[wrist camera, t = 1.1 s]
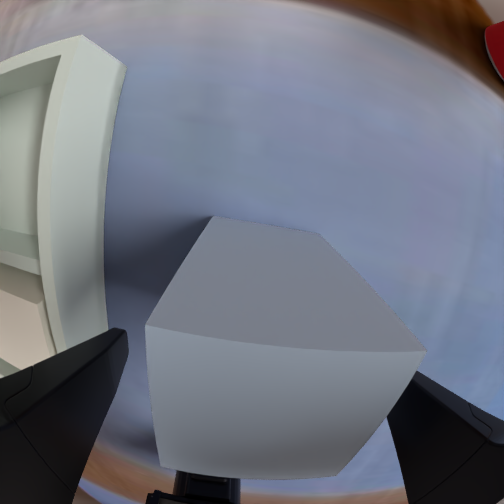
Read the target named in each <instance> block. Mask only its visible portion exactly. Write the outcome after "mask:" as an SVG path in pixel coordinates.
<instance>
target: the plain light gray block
mask: <svg viewBox="0 0 504 504" xmlns="http://www.w3.org/2000/svg"><path fill="white" fill-rule="evenodd" d="M145 339H146V357H147V371H148V383H149V393H150V402H151V410H152V418H153V425H154V431H155V438H156V444H157V449H158V455H159V460H160V465H161V467H164V468H169V469H174V470H179V471H184V472H190V473H196V474H202V475H210V476H218V477H228V478H240V479H261V480H288V479H309V478H321V477H331V476H336V475H337V474H338V473H339V472H340V471H341V470H342V469H343V468H344V467H345V466H346V465H347V464H348V463H349V462H350V461H351V460H352V458H353V457H354V456H355V455H356V454H357V453H358V452H359V450H360V449H361V448H362V447H363V446H364V445H365V443H366V442H367V441H368V440H369V438H370V437H371V436H372V435H373V433H374V432H375V431H376V430H377V428H378V427H379V426H380V424H381V423H382V422H383V420H384V419H385V418H386V416H387V415H388V414H389V412H390V411H391V409H392V408H393V406H394V405H395V404H396V402H397V401H398V399H399V398H400V396H401V395H402V393H403V392H404V390H405V388H406V387H407V385H408V384H409V382H410V380H411V379H412V377H413V375H414V374H415V372H416V370H417V369H418V367H419V365H420V363H421V362H422V360H423V358H424V356H425V354H426V352H427V350H426V349H425V348H424V346H423V345H422V344H421V343H420V342H419V340H418V339H417V338H416V337H415V336H414V335H413V333H412V332H411V331H410V330H409V329H408V327H407V326H406V325H405V324H404V323H403V322H402V321H401V319H400V318H399V317H398V316H397V315H396V314H395V313H394V312H393V310H392V309H391V308H390V307H389V306H388V305H387V304H386V303H385V301H384V300H383V299H382V298H381V297H380V296H379V295H378V294H377V293H376V292H375V291H374V289H373V288H372V287H371V286H370V285H369V284H368V283H367V282H366V281H365V280H364V279H363V278H362V277H361V276H360V275H359V273H358V272H357V271H356V270H355V269H354V268H353V267H352V266H351V265H350V264H349V263H348V262H347V261H346V260H345V259H344V258H343V257H342V256H341V255H340V254H339V253H338V252H337V251H336V250H335V249H334V248H333V247H332V246H331V245H330V244H329V243H328V242H327V241H326V240H325V239H324V238H323V237H322V236H321V235H320V234H317V233H312V232H306V231H301V230H295V229H290V228H284V227H278V226H273V225H267V224H261V223H255V222H249V221H243V220H236V219H230V218H224V217H218V216H213V217H212V218H211V220H210V221H209V223H208V224H207V226H206V227H205V229H204V230H203V232H202V233H201V235H200V236H199V238H198V239H197V241H196V242H195V244H194V246H193V247H192V249H191V250H190V252H189V253H188V255H187V256H186V258H185V260H184V261H183V263H182V264H181V266H180V268H179V269H178V271H177V272H176V274H175V276H174V277H173V279H172V280H171V282H170V284H169V285H168V287H167V289H166V290H165V292H164V293H163V295H162V297H161V298H160V300H159V302H158V303H157V305H156V307H155V308H154V310H153V312H152V314H151V315H150V317H149V319H148V320H147V322H146V324H145Z"/></svg>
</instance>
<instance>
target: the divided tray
mask: <svg viewBox="0 0 504 504" xmlns="http://www.w3.org/2000/svg"><path fill="white" fill-rule="evenodd" d="M126 70H127V66H125V65H124V64H123V63H121V62H120V61H118V60H117V59H116V58H114V57H113V56H112V55H110V54H109V53H107V52H106V51H105V50H103V49H102V48H100V47H99V46H97V45H96V44H94V43H93V42H92V41H90V40H89V39H87V38H86V37H84V36H83V35H79V36H75V37H71V38H67V39H63V40H60V41H56V42H53V43H50V44H46V45H43V46H40V47H37V48H35V49H32V50H29V51H26V52H24V53H21V54H19V55H16V56H14V57H12V58H9V59H7V60H5V61H2V62H0V262H1V263H4V264H7V265H10V266H13V267H16V268H19V269H22V270H25V271H28V272H31V273H34V274H38V275H41V276H42V282H43V289H44V295H45V301H46V306H47V311H48V316H49V321H50V325H51V330H52V334H53V338H54V342H55V346H56V349H57V353H60V352H62V351H65V350H67V349H69V348H71V347H73V346H75V345H78V344H80V343H82V342H84V341H86V340H88V339H91V338H93V337H95V336H97V335H99V334H101V333H103V332H106V331H108V321H107V311H106V299H105V283H104V210H105V194H106V182H107V172H108V163H109V155H110V147H111V141H112V134H113V128H114V123H115V117H116V112H117V107H118V102H119V98H120V93H121V89H122V85H123V81H124V77H125V73H126ZM18 371H20V369H18V368H17V367H15V366H13V365H11V364H10V363H8V362H6V361H5V360H3V359H2V358H0V378H2V377H5V376H8V375H11V374H13V373H15V372H18Z"/></svg>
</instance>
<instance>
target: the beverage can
mask: <svg viewBox="0 0 504 504" xmlns="http://www.w3.org/2000/svg"><path fill="white" fill-rule="evenodd" d="M485 43H486V49H487V52H488V55H489V58H490V60H491V62H492V64H493V66H494V68H495V70H496V71H497V73H498V75H499V76H500V77H501V78H502V80H503V81H504V21H502V22H500V23H497V24H494V25H491V26H488V27H487V28H486V30H485Z"/></svg>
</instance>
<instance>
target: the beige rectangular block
mask: <svg viewBox="0 0 504 504" xmlns="http://www.w3.org/2000/svg"><path fill="white" fill-rule="evenodd" d="M56 354H58V353H57V349H56V346H55V342H54V338H53V334H52V330H51V325H50V321H49V316H48V311H47V306H46V301H45V295H44V289H43V282H42V276H41V275H38V274H34V273H31V272H28V271H25V270H22V269H19V268H16V267H13V266H10V265H7V264H4V263H1V262H0V358H2V359H3V360H5V361H6V362H8V363H10V364H11V365H13V366H15V367H17V368H18V369H20V370H23V369H25V368H27V367H29V366H31V365H32V366H33V365H34V364H36V363H38V362H40V361H43V360H45V359H47V358H49V357H51V356H54V355H56Z"/></svg>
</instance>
